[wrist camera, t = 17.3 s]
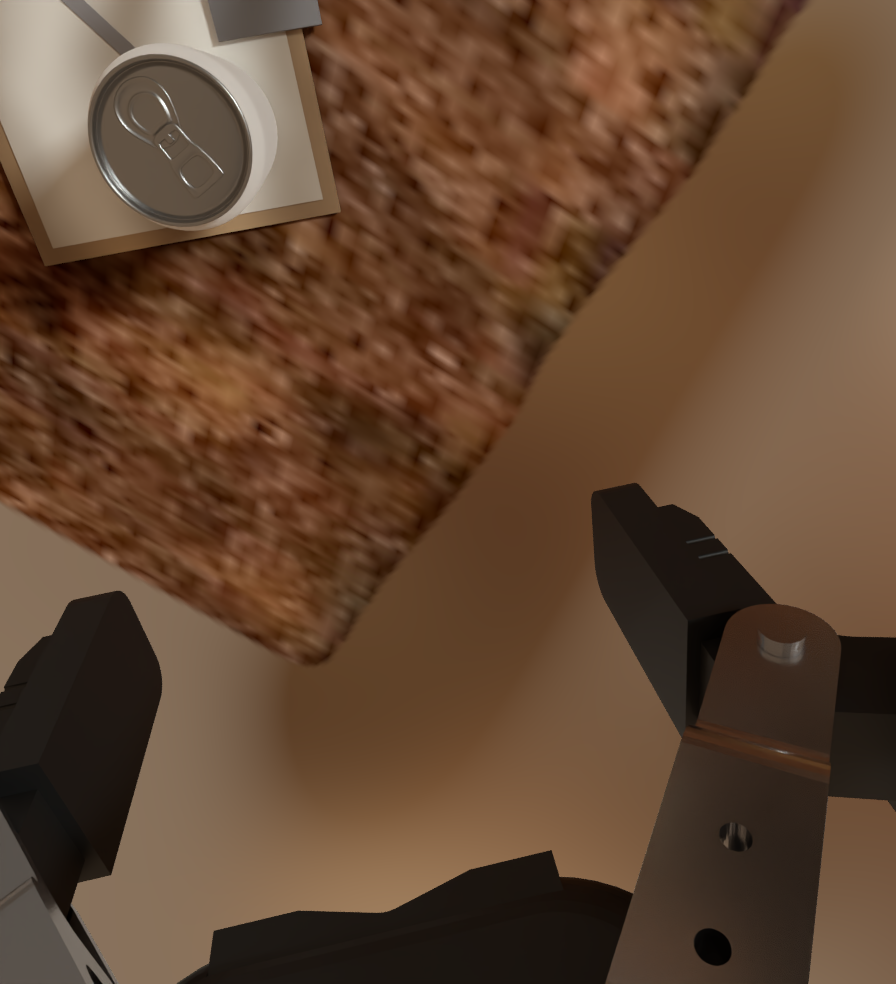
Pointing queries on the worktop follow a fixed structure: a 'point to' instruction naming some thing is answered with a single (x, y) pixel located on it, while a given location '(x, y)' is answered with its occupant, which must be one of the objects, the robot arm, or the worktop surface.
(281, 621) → the worktop surface
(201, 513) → the worktop surface
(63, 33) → the clipboard
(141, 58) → the can
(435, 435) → the worktop surface
